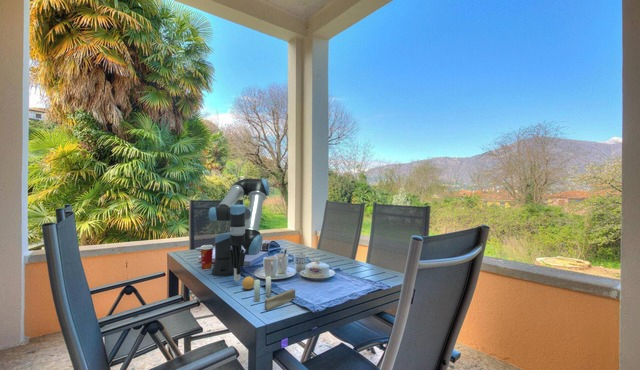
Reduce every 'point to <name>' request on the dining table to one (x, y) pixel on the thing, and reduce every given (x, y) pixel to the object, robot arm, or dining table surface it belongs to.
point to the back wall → (279, 299)
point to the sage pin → (256, 290)
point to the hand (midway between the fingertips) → (237, 280)
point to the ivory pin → (268, 286)
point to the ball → (248, 283)
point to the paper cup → (206, 256)
